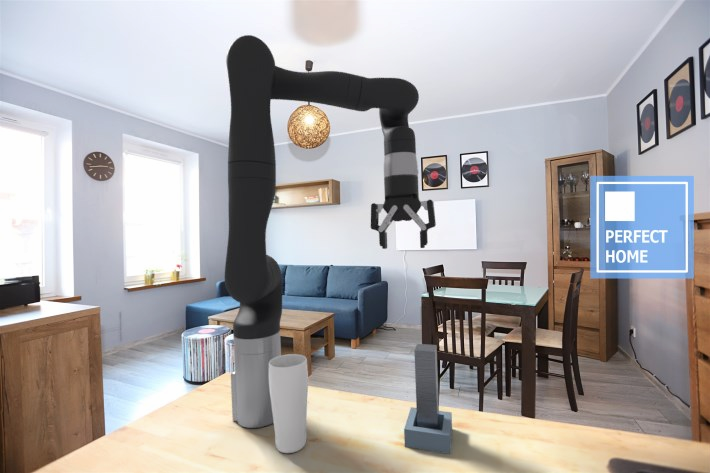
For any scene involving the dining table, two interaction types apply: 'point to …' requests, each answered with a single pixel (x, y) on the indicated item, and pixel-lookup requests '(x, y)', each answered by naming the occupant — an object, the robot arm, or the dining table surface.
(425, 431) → the socket block
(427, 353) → the square bit
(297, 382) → the drinking glass
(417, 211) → the robot arm
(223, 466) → the dining table surface
